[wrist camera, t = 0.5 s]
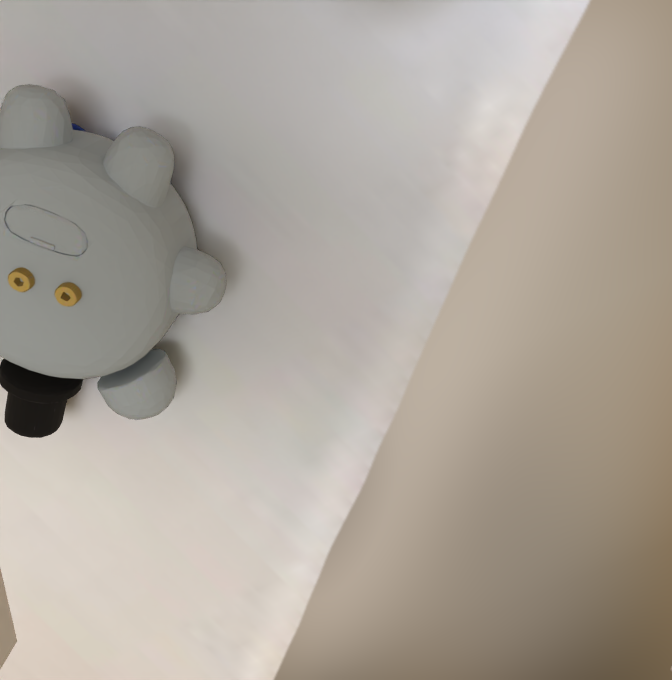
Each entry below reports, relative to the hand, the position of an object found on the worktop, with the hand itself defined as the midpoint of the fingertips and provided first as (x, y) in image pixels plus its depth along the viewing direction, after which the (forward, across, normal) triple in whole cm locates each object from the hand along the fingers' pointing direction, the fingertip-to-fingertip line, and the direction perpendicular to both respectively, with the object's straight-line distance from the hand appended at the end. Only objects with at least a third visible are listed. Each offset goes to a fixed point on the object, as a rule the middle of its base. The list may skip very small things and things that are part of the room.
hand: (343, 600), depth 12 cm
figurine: (+28, -16, -2) cm, 33 cm away
